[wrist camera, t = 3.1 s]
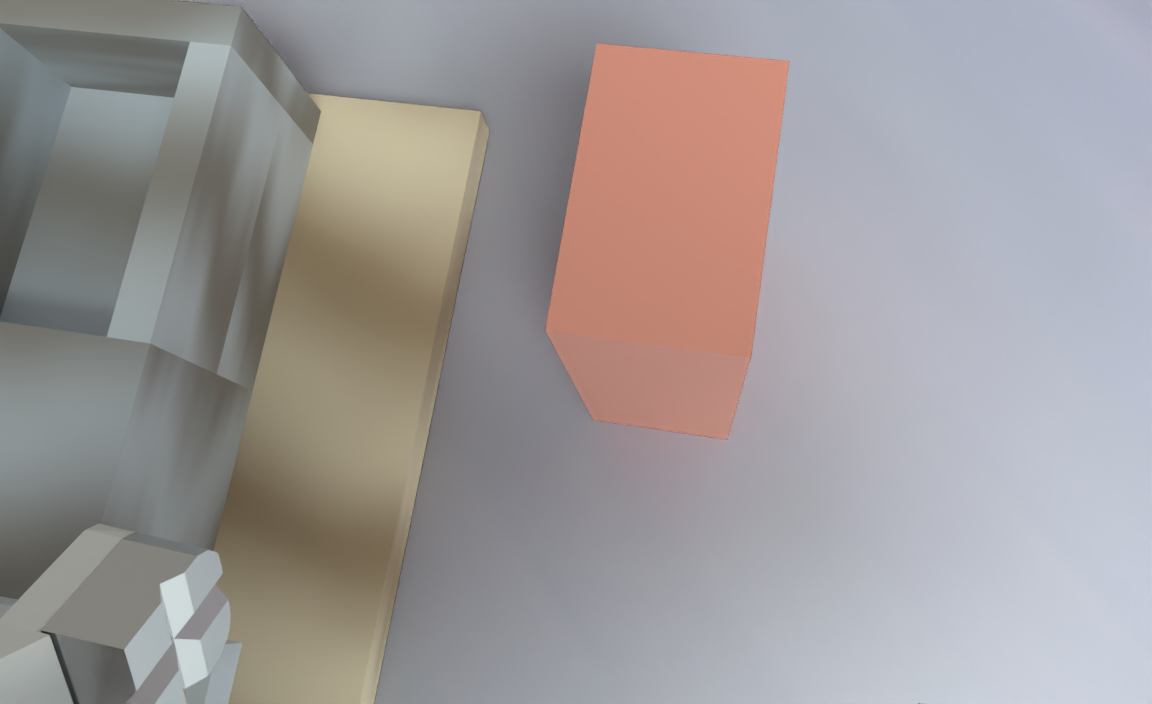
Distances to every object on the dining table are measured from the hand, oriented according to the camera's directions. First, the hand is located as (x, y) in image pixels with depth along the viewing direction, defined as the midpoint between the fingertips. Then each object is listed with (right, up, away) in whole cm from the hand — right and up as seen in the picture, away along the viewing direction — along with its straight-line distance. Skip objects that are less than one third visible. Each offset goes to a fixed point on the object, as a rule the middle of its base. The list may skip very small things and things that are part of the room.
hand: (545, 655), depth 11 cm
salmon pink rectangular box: (+3, +4, +14) cm, 15 cm away
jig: (-12, 0, +15) cm, 19 cm away
